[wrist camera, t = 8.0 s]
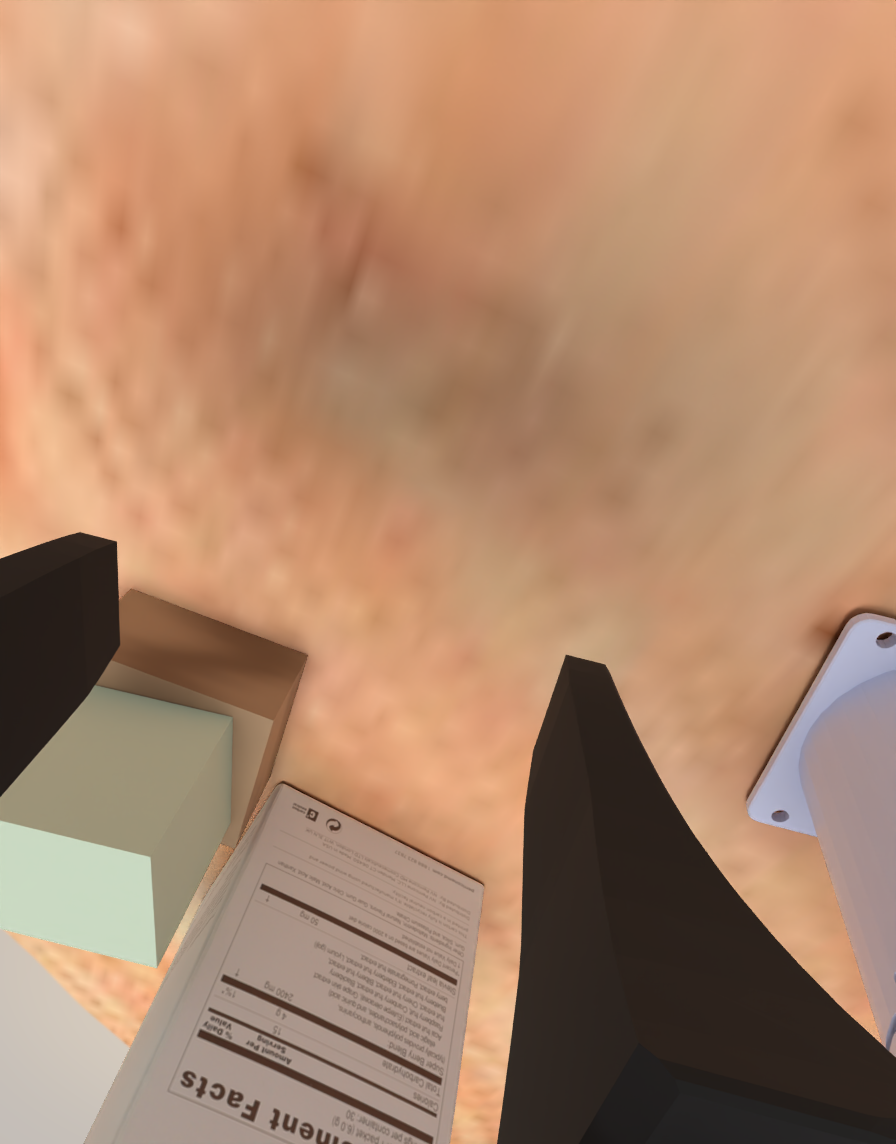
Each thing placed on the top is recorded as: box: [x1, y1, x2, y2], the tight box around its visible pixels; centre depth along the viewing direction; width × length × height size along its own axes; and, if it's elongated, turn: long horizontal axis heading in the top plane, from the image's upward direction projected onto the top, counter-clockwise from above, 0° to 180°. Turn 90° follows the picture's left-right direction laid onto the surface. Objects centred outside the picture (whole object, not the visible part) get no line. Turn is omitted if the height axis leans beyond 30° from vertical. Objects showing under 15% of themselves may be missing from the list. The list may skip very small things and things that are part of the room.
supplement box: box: [84, 784, 484, 1144], centre depth 25 cm, size 9×9×15 cm
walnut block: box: [95, 589, 308, 849], centre depth 26 cm, size 6×6×4 cm
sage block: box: [0, 685, 233, 968], centre depth 22 cm, size 4×4×5 cm
